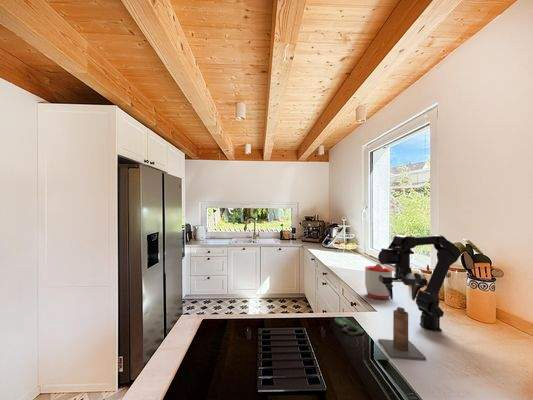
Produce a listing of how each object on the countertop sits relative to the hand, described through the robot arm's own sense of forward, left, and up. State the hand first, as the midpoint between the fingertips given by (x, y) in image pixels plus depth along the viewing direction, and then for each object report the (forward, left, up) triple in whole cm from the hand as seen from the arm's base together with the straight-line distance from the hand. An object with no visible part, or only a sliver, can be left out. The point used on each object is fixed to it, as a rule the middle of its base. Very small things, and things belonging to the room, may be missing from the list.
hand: (402, 299), depth 115 cm
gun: (+24, 0, -14) cm, 28 cm away
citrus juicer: (-6, -46, -13) cm, 49 cm away
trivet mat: (+8, +17, -13) cm, 23 cm away
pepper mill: (+8, +17, -12) cm, 23 cm away
